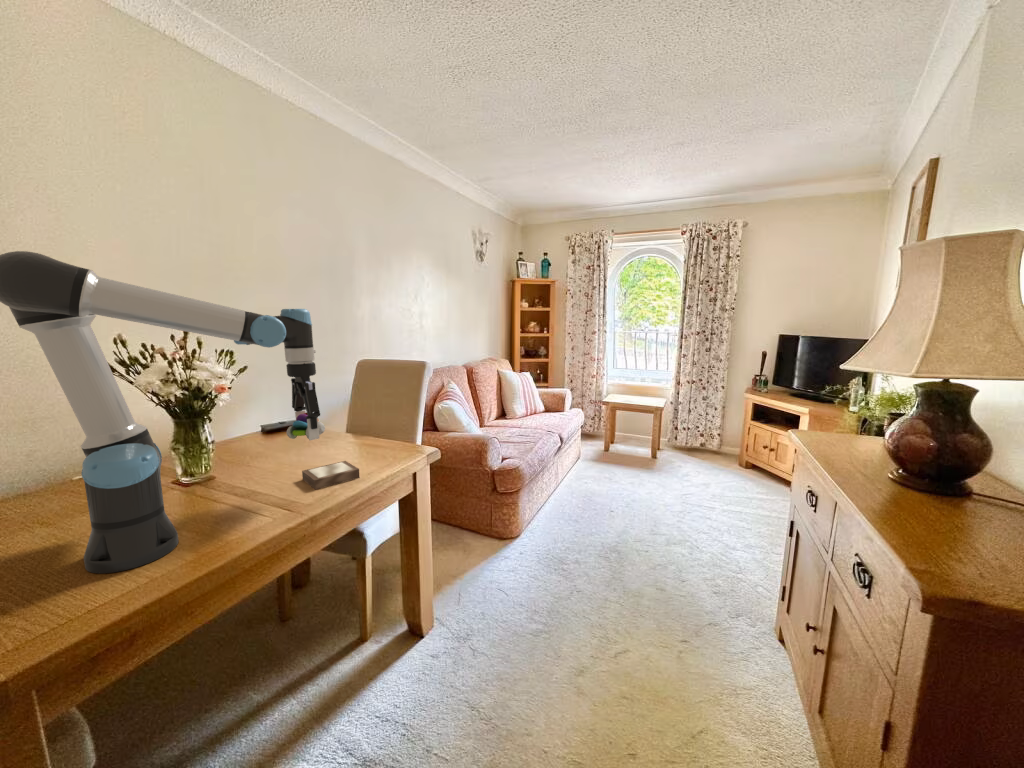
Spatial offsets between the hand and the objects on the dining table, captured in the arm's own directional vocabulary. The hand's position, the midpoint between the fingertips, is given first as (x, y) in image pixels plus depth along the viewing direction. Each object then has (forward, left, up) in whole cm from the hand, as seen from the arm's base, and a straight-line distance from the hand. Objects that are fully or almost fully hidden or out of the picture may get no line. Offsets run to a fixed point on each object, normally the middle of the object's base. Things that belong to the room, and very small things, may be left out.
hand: (308, 435), depth 122 cm
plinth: (+7, +4, -17) cm, 19 cm away
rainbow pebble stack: (0, 0, -1) cm, 1 cm away
